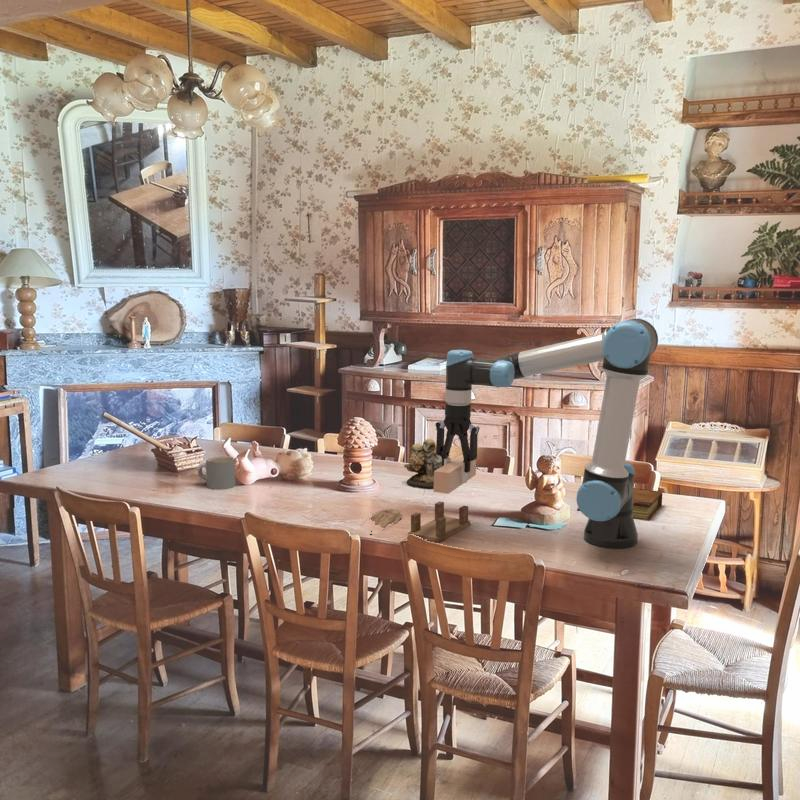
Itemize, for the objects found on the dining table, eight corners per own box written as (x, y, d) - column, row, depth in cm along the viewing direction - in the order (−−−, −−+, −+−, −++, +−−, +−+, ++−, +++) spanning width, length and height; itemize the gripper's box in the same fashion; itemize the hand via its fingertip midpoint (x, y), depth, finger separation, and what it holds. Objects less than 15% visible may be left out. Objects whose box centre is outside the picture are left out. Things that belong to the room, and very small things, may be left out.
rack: (470, 524, 257) (470, 505, 256) (437, 542, 240) (437, 521, 239) (442, 519, 262) (442, 500, 261) (408, 536, 245) (408, 516, 244)
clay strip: (475, 474, 257) (476, 455, 256) (448, 493, 235) (449, 473, 234) (461, 473, 258) (462, 454, 257) (433, 491, 237) (434, 471, 236)
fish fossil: (386, 537, 246) (386, 533, 246) (353, 538, 248) (353, 534, 248) (403, 511, 271) (403, 507, 270) (373, 511, 273) (373, 508, 273)
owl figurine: (400, 487, 300) (400, 441, 298) (408, 479, 311) (408, 434, 309) (449, 490, 296) (450, 443, 293) (456, 482, 307) (456, 437, 304)
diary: (661, 508, 277) (662, 491, 276) (648, 522, 261) (649, 505, 260) (593, 498, 288) (594, 481, 287) (576, 511, 272) (577, 494, 271)
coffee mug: (240, 483, 305) (239, 457, 303) (225, 490, 296) (224, 463, 294) (209, 480, 310) (208, 454, 308) (193, 487, 300) (192, 460, 299)
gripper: (491, 405, 241) (488, 483, 245) (437, 398, 251) (435, 473, 255) (479, 408, 235) (476, 489, 239) (424, 401, 244) (422, 478, 248)
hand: (455, 481), depth 247 cm, fingers closed on clay strip, 5 cm apart
